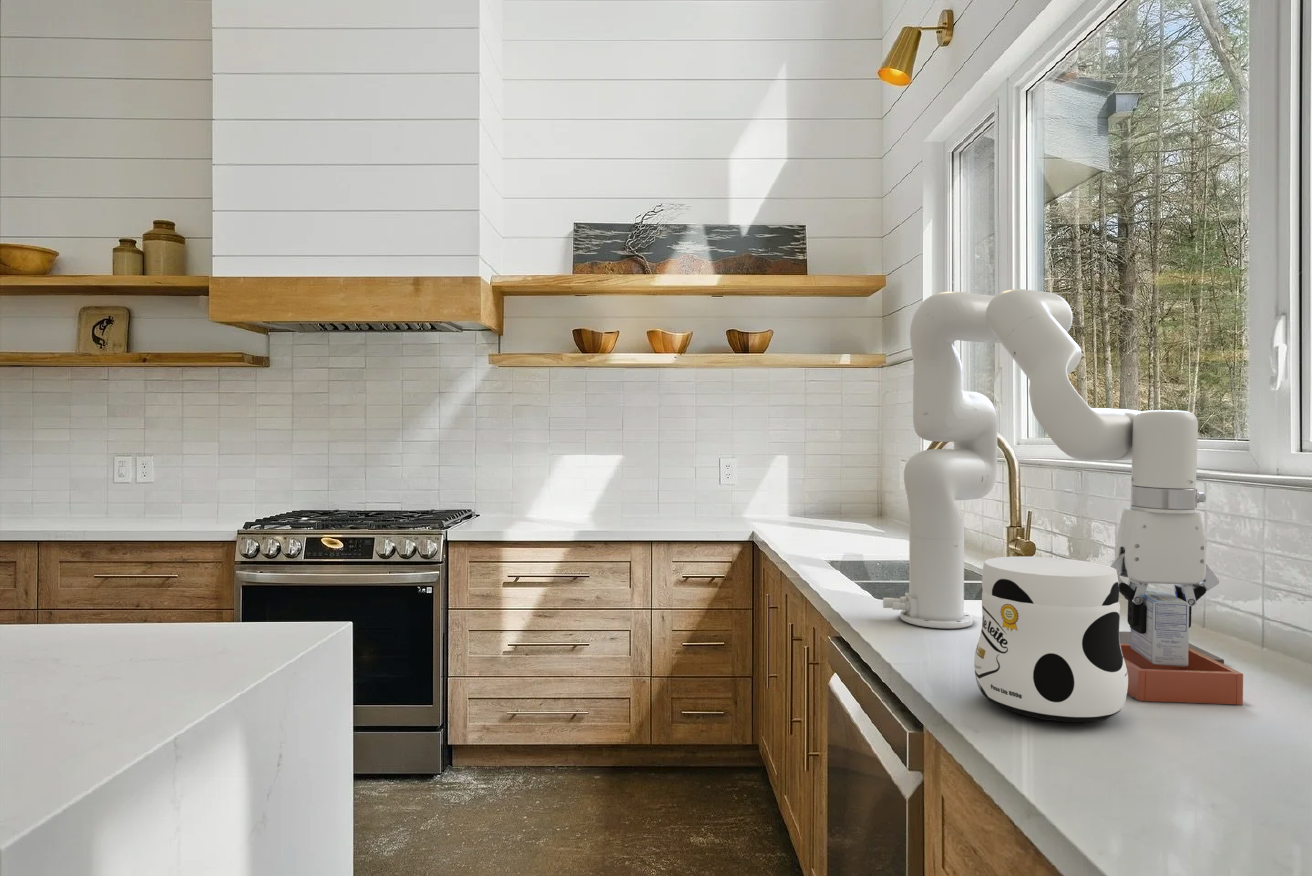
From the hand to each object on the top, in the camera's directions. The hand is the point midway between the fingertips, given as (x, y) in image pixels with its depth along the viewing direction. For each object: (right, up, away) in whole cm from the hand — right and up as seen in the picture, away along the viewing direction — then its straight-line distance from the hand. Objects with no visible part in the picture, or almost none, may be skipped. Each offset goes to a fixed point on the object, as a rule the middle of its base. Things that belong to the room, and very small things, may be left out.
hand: (1158, 630), depth 109 cm
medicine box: (0, -4, 0) cm, 4 cm away
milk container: (-20, -8, -9) cm, 23 cm away
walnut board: (+5, -7, +18) cm, 20 cm away
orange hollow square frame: (0, -7, 0) cm, 8 cm away
